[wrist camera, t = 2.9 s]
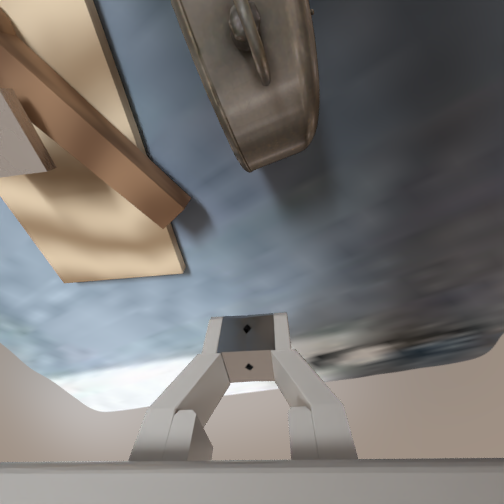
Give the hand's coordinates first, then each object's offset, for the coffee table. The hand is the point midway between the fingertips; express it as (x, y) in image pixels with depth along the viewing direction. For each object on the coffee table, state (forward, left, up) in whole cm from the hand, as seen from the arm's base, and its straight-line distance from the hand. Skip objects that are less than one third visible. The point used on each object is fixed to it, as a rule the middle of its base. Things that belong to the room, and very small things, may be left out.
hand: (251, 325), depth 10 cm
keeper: (-7, -18, -15) cm, 25 cm away
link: (-7, -13, -15) cm, 21 cm away
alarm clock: (-9, +1, -17) cm, 19 cm away
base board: (-4, -17, -16) cm, 24 cm away
